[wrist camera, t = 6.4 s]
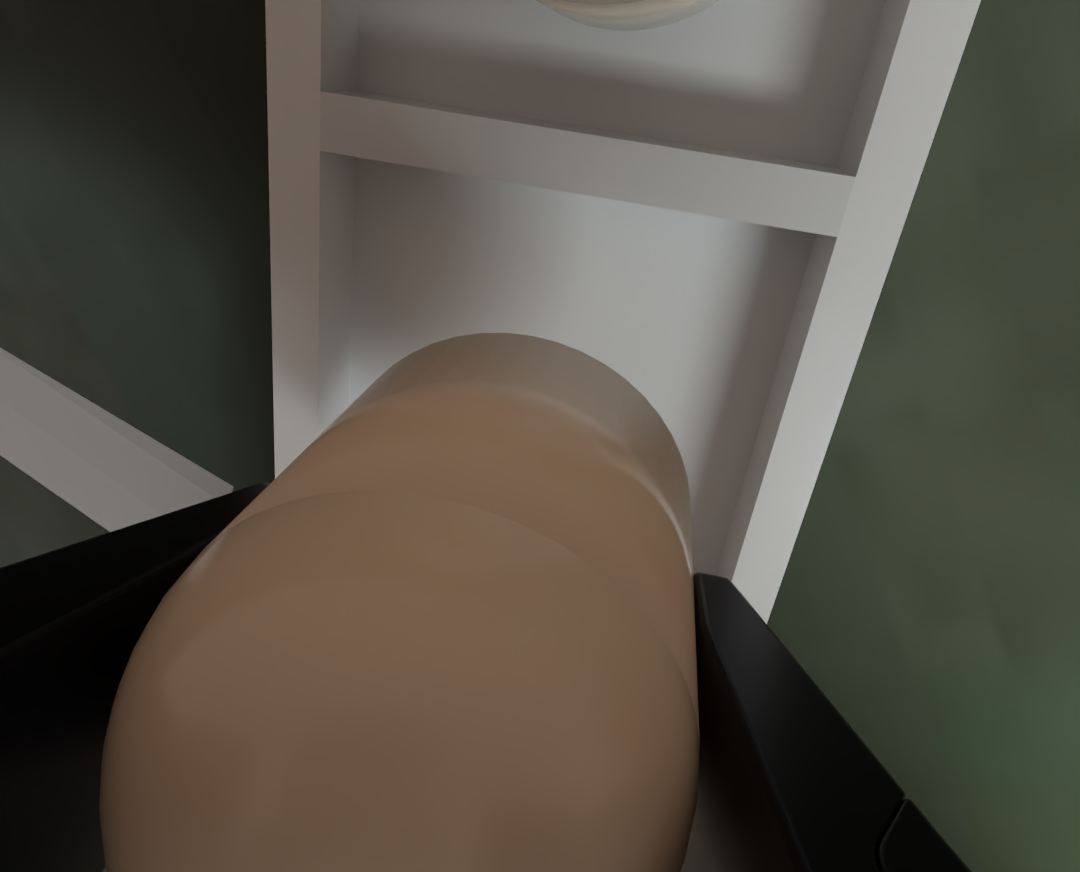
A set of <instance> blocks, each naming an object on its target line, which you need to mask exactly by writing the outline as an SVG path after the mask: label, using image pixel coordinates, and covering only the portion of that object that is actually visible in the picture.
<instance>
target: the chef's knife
mask: <svg viewBox="0 0 1080 872" xmlns="http://www.w3.org/2000/svg"><path fill="white" fill-rule="evenodd" d="M0 455H1V456H2V457H3V458H5V459H6V460H8V461H9V462H11V463H12V464H13V465H15V466H16V467H18V468H19V469H21V470H22V471H23V472H25V473H26V474H28V475H29V476H31V477H32V478H33V479H35V480H36V481H38V482H39V483H41V484H42V485H44V486H45V487H46V488H48V489H49V490H51V491H52V492H54V493H55V494H56V495H58V496H59V497H61V498H62V499H64V500H65V501H66V502H68V503H69V504H71V505H72V506H74V507H75V508H77V509H78V510H79V511H81V512H82V513H84V514H85V515H87V516H88V517H89V518H91V519H92V520H94V521H95V522H97V523H98V524H99V525H101V526H102V527H104V528H105V529H107V530H108V531H109V532H112V531H115V530H118V529H121V528H124V527H127V526H131V525H134V524H137V523H140V522H143V521H146V520H149V519H152V518H155V517H158V516H161V515H164V514H167V513H170V512H173V511H177V510H180V509H183V508H186V507H189V506H192V505H195V504H198V503H201V502H204V501H207V500H210V499H213V498H216V497H219V496H223V495H226V494H229V493H232V492H233V486H232V485H230V484H228V483H227V482H225V481H223V480H222V479H220V478H218V477H217V476H215V475H213V474H212V473H210V472H208V471H206V470H205V469H203V468H201V467H200V466H198V465H196V464H195V463H193V462H191V461H190V460H188V459H186V458H185V457H183V456H181V455H180V454H178V453H176V452H175V451H173V450H171V449H170V448H168V447H166V446H165V445H163V444H161V443H159V442H158V441H156V440H154V439H153V438H151V437H149V436H148V435H146V434H144V433H143V432H141V431H139V430H138V429H136V428H134V427H133V426H131V425H129V424H128V423H126V422H124V421H123V420H121V419H119V418H117V417H116V416H114V415H112V414H111V413H109V412H107V411H106V410H104V409H102V408H101V407H99V406H97V405H96V404H94V403H92V402H91V401H89V400H87V399H86V398H84V397H82V396H81V395H79V394H77V393H76V392H74V391H72V390H70V389H69V388H67V387H65V386H64V385H62V384H60V383H59V382H57V381H55V380H54V379H52V378H50V377H49V376H47V375H45V374H44V373H42V372H40V371H39V370H37V369H35V368H34V367H32V366H30V365H29V364H27V363H25V362H23V361H22V360H20V359H18V358H17V357H15V356H13V355H12V354H10V353H8V352H7V351H5V350H3V349H2V348H0Z"/></svg>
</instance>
